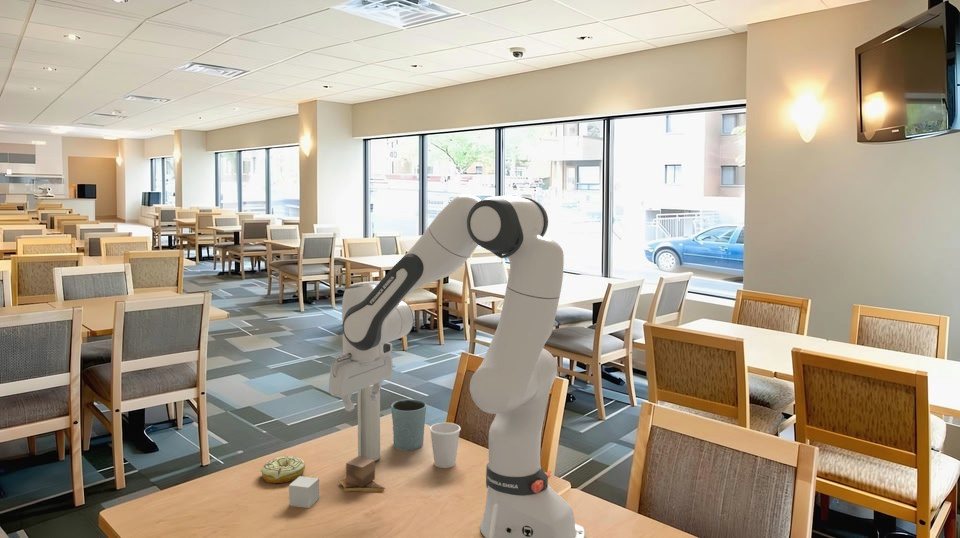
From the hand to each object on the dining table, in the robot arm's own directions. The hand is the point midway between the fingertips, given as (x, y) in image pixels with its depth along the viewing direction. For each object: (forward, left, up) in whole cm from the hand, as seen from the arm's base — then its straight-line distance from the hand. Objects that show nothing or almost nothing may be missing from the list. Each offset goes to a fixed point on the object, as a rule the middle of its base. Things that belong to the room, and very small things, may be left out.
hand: (362, 404), depth 157 cm
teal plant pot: (+5, -27, -21) cm, 34 cm away
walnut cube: (0, +1, -19) cm, 19 cm away
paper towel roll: (+9, -13, -21) cm, 26 cm away
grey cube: (+6, +14, -21) cm, 26 cm away
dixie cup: (-11, -21, -21) cm, 31 cm away
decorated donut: (+21, +6, -21) cm, 30 cm away
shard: (0, 0, -21) cm, 21 cm away
